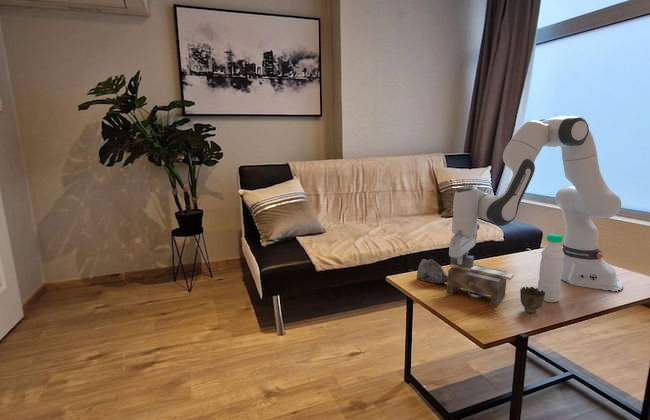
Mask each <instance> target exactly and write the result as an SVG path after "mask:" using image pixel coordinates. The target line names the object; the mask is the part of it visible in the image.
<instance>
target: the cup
mask: <svg viewBox="0 0 650 420" xmlns="http://www.w3.org/2000/svg"><path fill="white" fill-rule="evenodd" d="M519 290H520V291H519V292H520V293H519V294H520V296H519V297H520V303H521V306H522V307H524V308H523V309H524V311H525V312H526V313H527V314H531V315H532V314H533V315H535V314H536V313H537V310H539V309H541V308H542V306H543V304H544V301H543V300H544V296H545V292H543V290H542V291H541V292H540V291H538V287H536V288H535V287H534V286H530V287H529V286H522V287H521V288H520V289H519Z"/></svg>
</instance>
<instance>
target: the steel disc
mask: <svg viewBox="0 0 650 420" xmlns="http://www.w3.org/2000/svg"><path fill="white" fill-rule="evenodd" d="M468 295H469V296H470V297H472V298H474V299H475V298H476V299H481V298H483V295H484V294H482V293H478V292H474V291H470V290H468Z"/></svg>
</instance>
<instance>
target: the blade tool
mask: <svg viewBox="0 0 650 420" xmlns="http://www.w3.org/2000/svg"><path fill="white" fill-rule="evenodd" d="M462 257H463V264H458V263H457V258H453V257H450V264H449V267H450V268H452V267H454V268H458V269H463V270H467V271H472V272H476V273H480V274H485V275H489V276H494V277H498V278H503V279H506V281H507V280H508V281H512V280H513V278H514V275H515V274H514V273H511V272H507V273H506V272H501V271H496V270H492V269H487V268H482V267H478V266H473V264H474V262H475V256H474V255H470V254H469V255H464V254H463V256H462Z"/></svg>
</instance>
